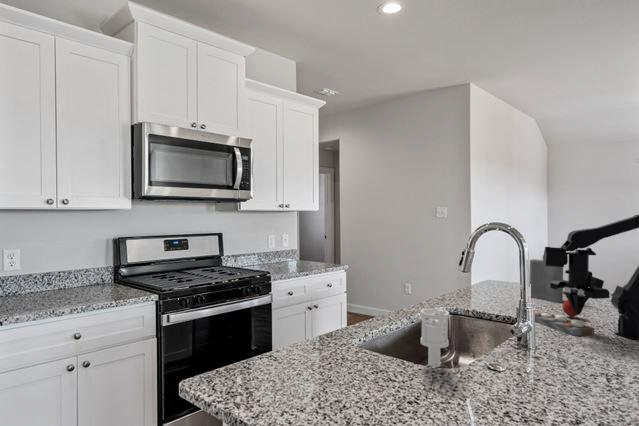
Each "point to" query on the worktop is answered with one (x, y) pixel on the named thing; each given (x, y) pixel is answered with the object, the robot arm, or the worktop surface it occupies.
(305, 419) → the worktop surface
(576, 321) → the near button
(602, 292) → the robot arm
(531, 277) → the flask
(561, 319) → the middle button
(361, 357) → the worktop surface
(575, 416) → the worktop surface
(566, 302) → the onion
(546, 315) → the far button
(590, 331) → the button board
